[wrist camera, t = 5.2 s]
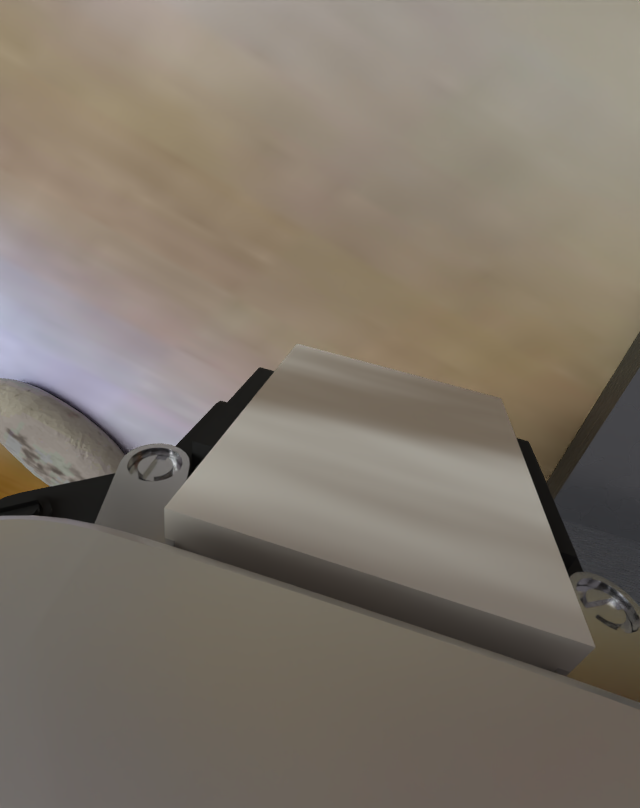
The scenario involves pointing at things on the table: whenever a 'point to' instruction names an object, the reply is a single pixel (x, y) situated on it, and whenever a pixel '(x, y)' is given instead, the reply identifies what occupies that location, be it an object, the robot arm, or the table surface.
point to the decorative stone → (53, 436)
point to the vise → (606, 481)
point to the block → (387, 506)
